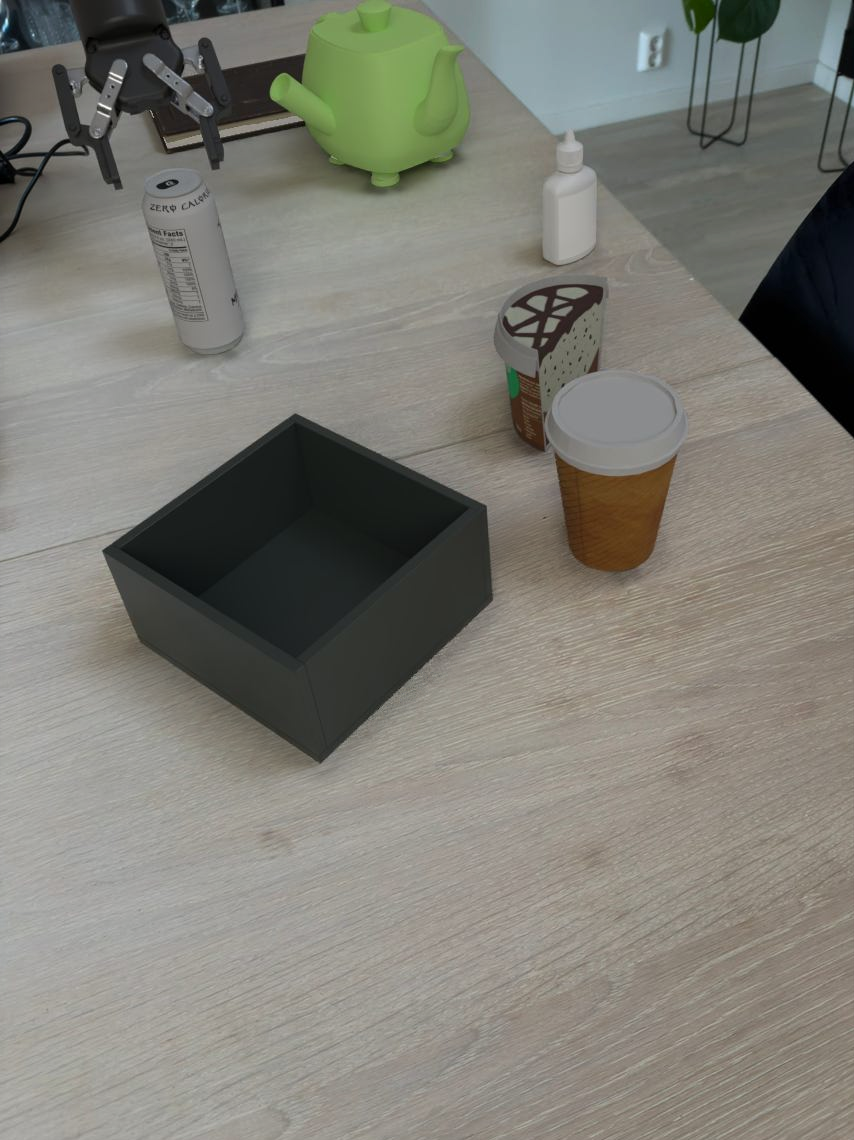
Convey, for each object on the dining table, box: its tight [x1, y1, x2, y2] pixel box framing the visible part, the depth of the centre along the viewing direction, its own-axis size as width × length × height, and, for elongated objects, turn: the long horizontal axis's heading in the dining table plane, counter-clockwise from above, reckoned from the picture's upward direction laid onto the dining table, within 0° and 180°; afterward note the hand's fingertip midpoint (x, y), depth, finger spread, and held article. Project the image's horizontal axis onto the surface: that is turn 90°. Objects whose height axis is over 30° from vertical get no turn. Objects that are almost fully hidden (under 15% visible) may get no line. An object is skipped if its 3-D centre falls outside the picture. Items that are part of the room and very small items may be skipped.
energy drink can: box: [141, 167, 246, 355], centre depth 99 cm, size 6×6×15 cm
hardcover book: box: [151, 52, 306, 155], centre depth 137 cm, size 16×23×2 cm
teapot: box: [270, 0, 471, 188], centre depth 119 cm, size 25×22×16 cm
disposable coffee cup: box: [544, 369, 690, 572], centre depth 78 cm, size 10×10×12 cm
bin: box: [101, 413, 494, 764], centre depth 76 cm, size 18×18×9 cm
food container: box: [493, 273, 610, 453], centre depth 90 cm, size 12×6×10 cm, turn 149°
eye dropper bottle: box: [541, 128, 598, 266], centre depth 106 cm, size 4×6×12 cm
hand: (167, 176), depth 98 cm, fingers open, 8 cm apart
